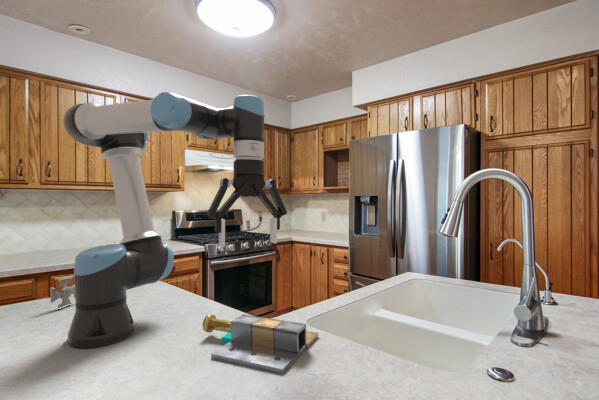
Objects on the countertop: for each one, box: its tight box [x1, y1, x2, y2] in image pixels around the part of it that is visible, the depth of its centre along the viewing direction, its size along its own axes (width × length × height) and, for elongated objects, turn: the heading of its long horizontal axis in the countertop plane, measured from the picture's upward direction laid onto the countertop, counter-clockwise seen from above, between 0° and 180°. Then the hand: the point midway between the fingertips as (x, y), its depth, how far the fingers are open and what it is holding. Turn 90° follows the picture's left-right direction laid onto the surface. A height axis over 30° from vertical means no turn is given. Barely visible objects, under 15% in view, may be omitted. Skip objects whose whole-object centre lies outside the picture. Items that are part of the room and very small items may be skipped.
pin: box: [202, 313, 232, 334], centre depth 85 cm, size 20×4×4 cm, turn 66°
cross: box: [49, 275, 75, 308], centre depth 114 cm, size 10×3×10 cm, turn 166°
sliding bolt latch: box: [210, 314, 319, 375], centre depth 82 cm, size 18×20×6 cm
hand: (248, 244), depth 85 cm, fingers open, 13 cm apart
